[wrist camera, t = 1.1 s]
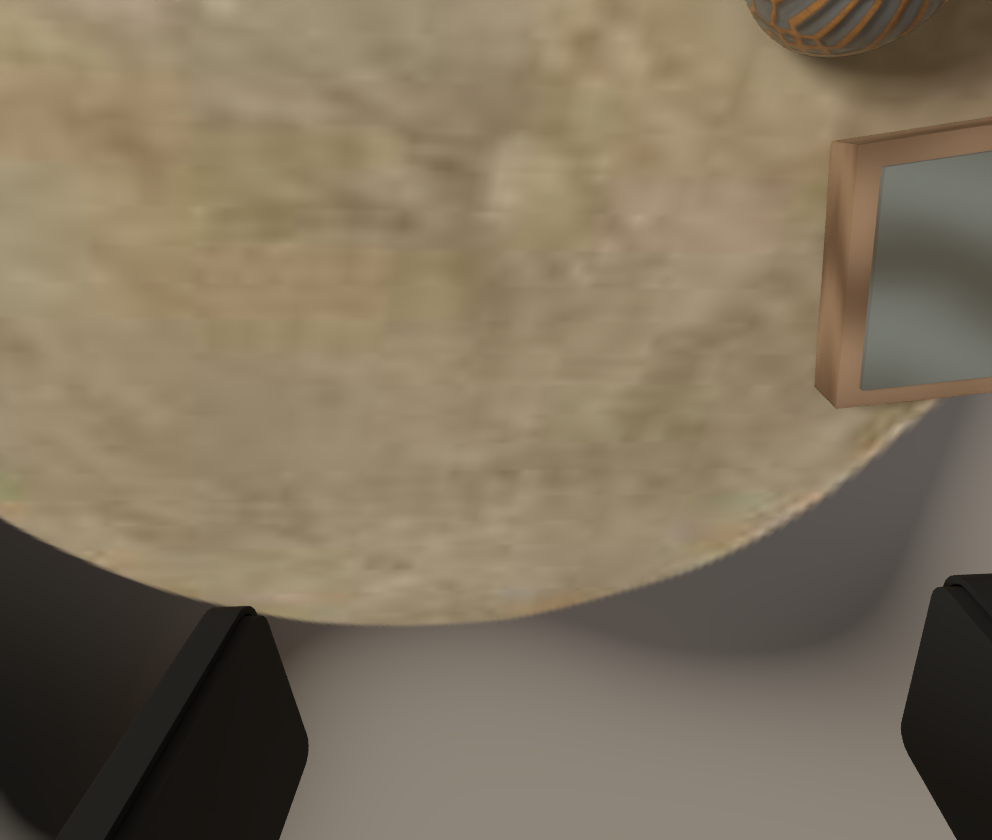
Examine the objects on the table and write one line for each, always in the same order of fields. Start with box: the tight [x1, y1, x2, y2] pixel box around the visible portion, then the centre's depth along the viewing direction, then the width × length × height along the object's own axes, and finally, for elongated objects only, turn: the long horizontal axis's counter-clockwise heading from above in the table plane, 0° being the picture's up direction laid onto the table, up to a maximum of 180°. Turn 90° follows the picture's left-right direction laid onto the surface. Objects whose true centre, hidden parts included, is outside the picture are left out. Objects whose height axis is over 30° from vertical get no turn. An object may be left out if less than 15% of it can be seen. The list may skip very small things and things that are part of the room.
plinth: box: [815, 117, 992, 409], centre depth 27 cm, size 11×11×3 cm
